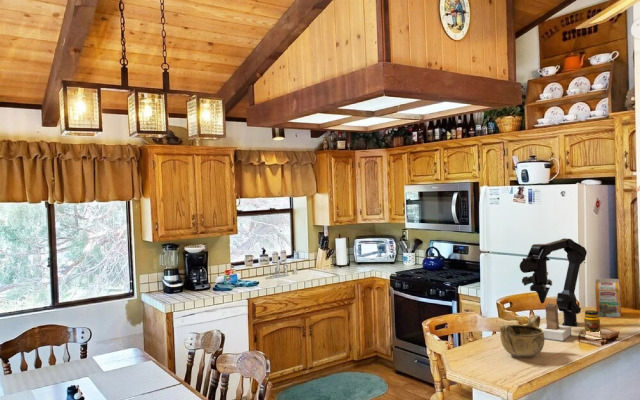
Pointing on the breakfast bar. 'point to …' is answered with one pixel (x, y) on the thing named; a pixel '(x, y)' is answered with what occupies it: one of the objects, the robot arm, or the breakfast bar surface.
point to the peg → (552, 316)
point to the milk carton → (608, 298)
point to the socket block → (556, 333)
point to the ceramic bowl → (523, 338)
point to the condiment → (592, 321)
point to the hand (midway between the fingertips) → (542, 303)
